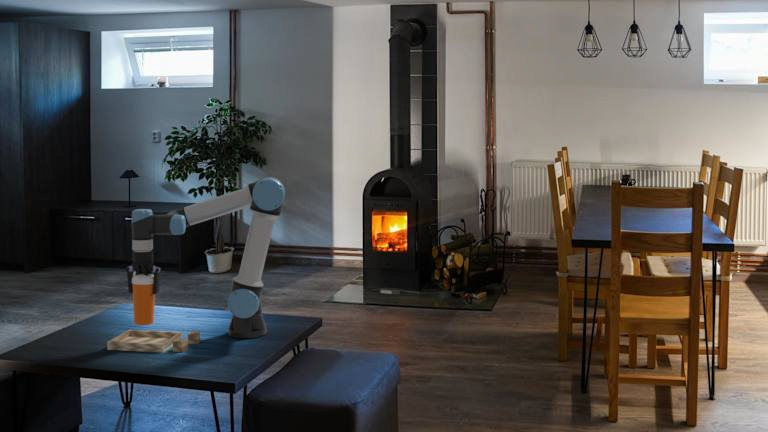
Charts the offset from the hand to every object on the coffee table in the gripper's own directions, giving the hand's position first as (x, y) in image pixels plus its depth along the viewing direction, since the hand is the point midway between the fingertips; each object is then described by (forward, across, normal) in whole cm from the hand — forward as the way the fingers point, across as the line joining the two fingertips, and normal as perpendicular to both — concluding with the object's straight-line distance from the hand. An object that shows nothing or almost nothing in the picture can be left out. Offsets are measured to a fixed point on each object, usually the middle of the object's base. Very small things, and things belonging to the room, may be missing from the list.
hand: (144, 311), depth 320 cm
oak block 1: (+13, -16, +5) cm, 21 cm away
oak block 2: (+13, -17, -6) cm, 22 cm away
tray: (+13, 0, 0) cm, 13 cm away
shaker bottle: (+5, 0, 0) cm, 5 cm away
